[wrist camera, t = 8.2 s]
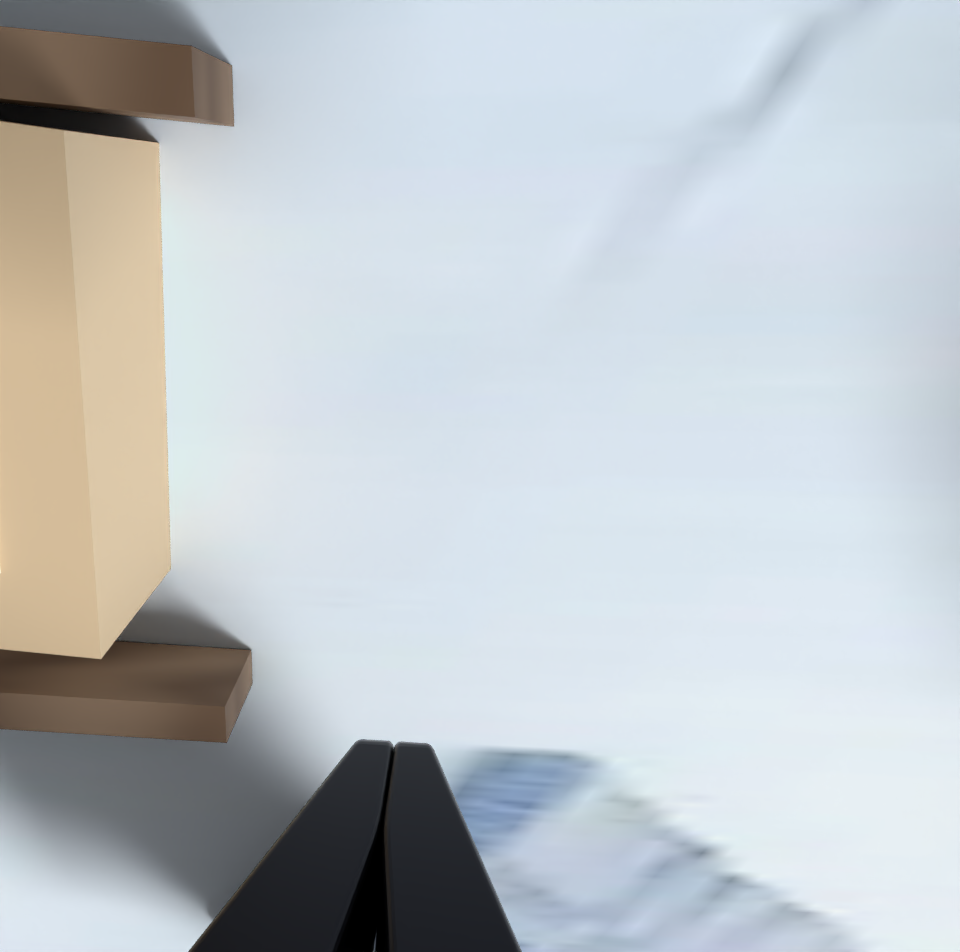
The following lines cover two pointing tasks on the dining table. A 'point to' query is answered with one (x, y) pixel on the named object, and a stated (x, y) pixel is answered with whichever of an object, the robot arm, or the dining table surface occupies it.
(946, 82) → the dining table surface
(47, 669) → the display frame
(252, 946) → the robot arm
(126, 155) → the carton
